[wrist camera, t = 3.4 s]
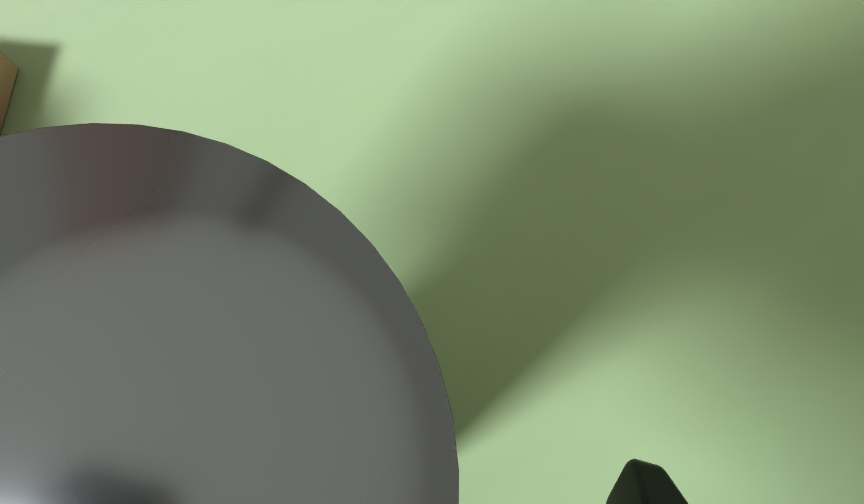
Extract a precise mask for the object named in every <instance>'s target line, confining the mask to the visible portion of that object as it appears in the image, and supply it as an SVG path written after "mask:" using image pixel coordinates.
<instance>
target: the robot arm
mask: <svg viewBox="0 0 864 504" xmlns="http://www.w3.org/2000/svg"><path fill="white" fill-rule="evenodd" d="M606 504H688V502H687V501H686V500H685V498H684V497H683V495H682V494H681V492H680V491H679V490H678V488H677V487H676V485H675V484H674V482H673V481H672V480H671V478H670V477H669V475H668V474H667V472H666V471H665V470H664V469H663V468H662V467H660V466H658V465H656V464H652V463H648V462H645V461H641V460H637V459H632V460H630V461H628V462H627V464H626V465H625V467H624V468H623V470H622V472H621V474H620V476H619V478H618V480H617V481H616V483H615V485H614V487H613V489H612V491H611V493H610V495H609V497H608V499H607V502H606Z"/></svg>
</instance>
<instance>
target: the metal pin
mask: <svg viewBox="0 0 864 504" xmlns="http://www.w3.org/2000/svg"><path fill="white" fill-rule="evenodd" d="M0 504H459V467H458V459H457V450H456V442H455V434H454V425H453V417H452V413H451V409H450V405H449V401H448V397H447V393H446V389H445V385H444V381H443V377H442V373H441V369H440V366H439V364H438V361H437V359H436V356H435V354H434V351H433V348H432V346H431V343H430V341H429V338H428V336H427V333H426V331H425V328H424V325H423V323H422V321H421V319H420V317H419V316H418V314H417V312H416V310H415V308H414V307H413V305H412V303H411V301H410V299H409V297H408V296H407V294H406V292H405V290H404V288H403V287H402V285H401V283H400V281H399V280H398V278H397V277H396V276H395V274H394V273H393V272H392V270H391V269H390V268H389V266H388V265H387V264H386V262H385V261H384V260H383V258H382V257H381V256H380V254H379V253H378V251H377V250H376V249H375V247H374V246H373V245H372V244H371V242H370V241H369V240H368V239H367V238H366V237H365V236H364V235H363V234H362V233H361V232H360V231H359V230H358V229H357V228H356V227H355V226H354V225H353V224H352V223H351V222H350V221H349V220H348V219H347V218H346V217H345V216H344V215H343V214H342V213H341V212H340V211H339V210H338V209H337V208H335V207H334V206H333V205H332V204H330V203H329V202H328V201H326V200H325V199H324V198H323V197H321V196H320V195H319V194H318V193H316V192H315V191H314V190H312V189H311V188H310V187H309V186H307V185H306V184H305V183H303V182H301V181H300V180H298V179H296V178H295V177H293V176H291V175H290V174H288V173H286V172H284V171H283V170H281V169H279V168H278V167H276V166H274V165H273V164H271V163H269V162H268V161H265V160H263V159H261V158H258V157H256V156H254V155H251V154H249V153H247V152H244V151H242V150H240V149H237V148H235V147H233V146H230V145H228V144H225V143H222V142H218V141H215V140H211V139H208V138H204V137H201V136H197V135H194V134H190V133H187V132H183V131H177V130H170V129H164V128H157V127H151V126H144V125H134V124H102V123H88V124H77V125H65V126H54V127H44V128H39V129H34V130H29V131H24V132H19V133H14V134H9V135H4V136H0Z"/></svg>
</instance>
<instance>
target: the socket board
mask: <svg viewBox="0 0 864 504" xmlns="http://www.w3.org/2000/svg"><path fill="white" fill-rule="evenodd" d="M17 72H18V68H17V67H16V66H15V65H14V64H13V63H12V62H11V61H9V60H8V59H7V58H6V57H5V56H4V55H3V54H2V53H0V133H1V130H2V126H3V122H4V119H5V115H6V111H7V108H8V104H9V101H10V97H11V93H12V90H13V86H14V82H15V79H16V75H17Z"/></svg>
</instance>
